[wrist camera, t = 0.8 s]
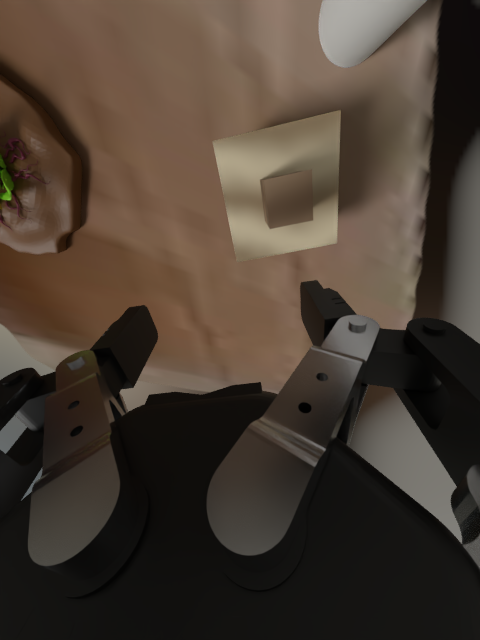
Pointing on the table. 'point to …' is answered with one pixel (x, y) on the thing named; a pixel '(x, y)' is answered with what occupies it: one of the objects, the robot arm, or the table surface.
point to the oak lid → (282, 186)
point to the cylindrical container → (360, 27)
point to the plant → (35, 177)
